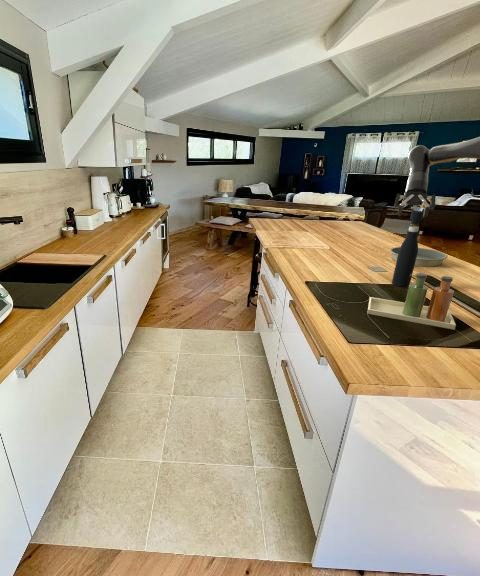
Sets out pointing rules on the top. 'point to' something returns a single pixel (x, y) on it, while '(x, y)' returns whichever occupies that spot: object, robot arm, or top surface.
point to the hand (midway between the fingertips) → (412, 215)
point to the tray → (395, 311)
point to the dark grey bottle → (407, 253)
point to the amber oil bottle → (440, 300)
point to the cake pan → (424, 257)
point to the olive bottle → (415, 296)
